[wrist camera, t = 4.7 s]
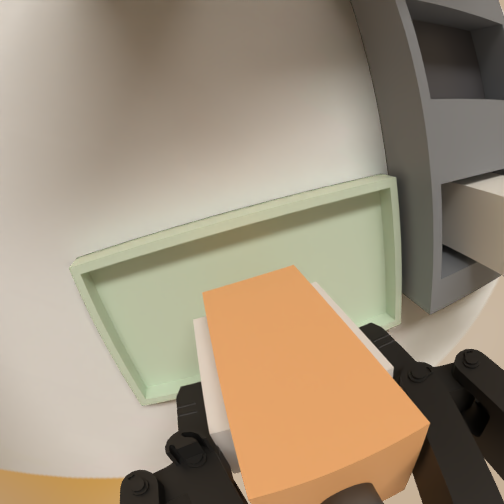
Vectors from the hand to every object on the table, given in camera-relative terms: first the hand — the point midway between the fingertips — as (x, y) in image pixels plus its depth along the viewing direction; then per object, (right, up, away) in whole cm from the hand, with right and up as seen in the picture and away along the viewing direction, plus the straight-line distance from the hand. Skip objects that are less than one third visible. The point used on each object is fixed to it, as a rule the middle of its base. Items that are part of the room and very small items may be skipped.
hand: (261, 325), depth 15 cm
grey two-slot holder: (+13, +12, +3) cm, 17 cm away
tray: (0, +1, +4) cm, 4 cm away
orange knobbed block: (0, 0, +1) cm, 1 cm away
